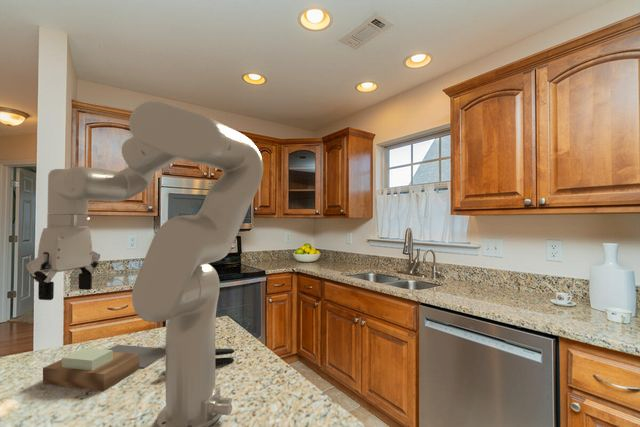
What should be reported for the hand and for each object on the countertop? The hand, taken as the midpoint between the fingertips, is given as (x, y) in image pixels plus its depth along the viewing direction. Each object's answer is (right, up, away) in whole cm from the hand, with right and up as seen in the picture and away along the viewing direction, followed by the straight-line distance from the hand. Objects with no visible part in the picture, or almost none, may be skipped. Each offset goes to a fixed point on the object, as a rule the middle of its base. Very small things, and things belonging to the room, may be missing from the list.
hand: (66, 294), depth 74 cm
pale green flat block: (+1, -18, +6) cm, 19 cm away
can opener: (+28, -23, +11) cm, 38 cm away
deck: (+1, -23, +7) cm, 24 cm away
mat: (+3, -23, +19) cm, 30 cm away
